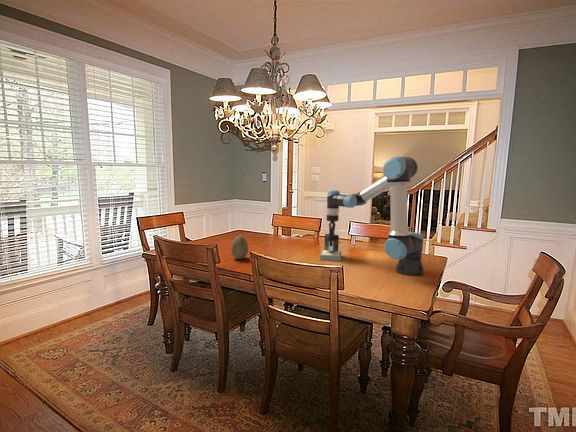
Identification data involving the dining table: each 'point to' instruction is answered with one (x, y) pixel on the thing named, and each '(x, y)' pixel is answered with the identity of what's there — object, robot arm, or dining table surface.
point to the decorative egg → (239, 247)
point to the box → (335, 242)
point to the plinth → (330, 255)
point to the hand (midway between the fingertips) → (331, 248)
